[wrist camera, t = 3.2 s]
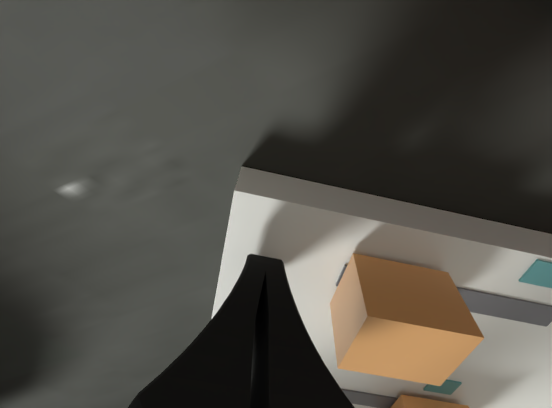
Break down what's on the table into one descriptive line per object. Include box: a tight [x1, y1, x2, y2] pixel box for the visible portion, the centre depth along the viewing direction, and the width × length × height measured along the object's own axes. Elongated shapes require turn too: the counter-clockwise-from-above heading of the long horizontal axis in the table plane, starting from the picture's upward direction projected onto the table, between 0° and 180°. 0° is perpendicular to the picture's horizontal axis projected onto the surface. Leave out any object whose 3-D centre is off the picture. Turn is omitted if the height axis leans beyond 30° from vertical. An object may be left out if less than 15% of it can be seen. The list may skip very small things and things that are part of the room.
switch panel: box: [211, 166, 552, 408], centre depth 17 cm, size 14×20×2 cm
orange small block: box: [330, 253, 484, 386], centre depth 13 cm, size 3×4×3 cm
